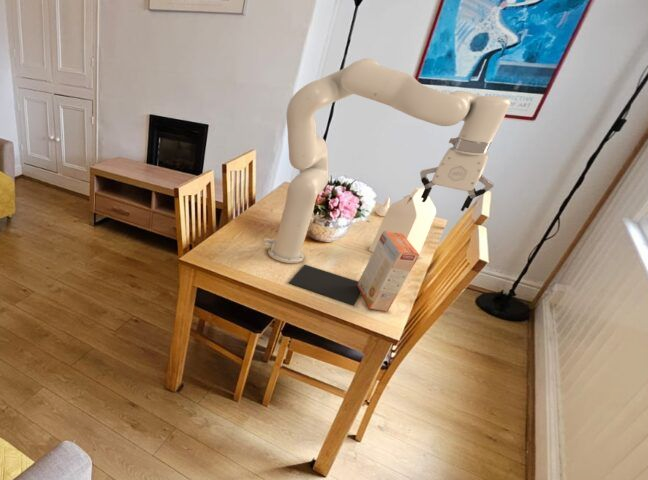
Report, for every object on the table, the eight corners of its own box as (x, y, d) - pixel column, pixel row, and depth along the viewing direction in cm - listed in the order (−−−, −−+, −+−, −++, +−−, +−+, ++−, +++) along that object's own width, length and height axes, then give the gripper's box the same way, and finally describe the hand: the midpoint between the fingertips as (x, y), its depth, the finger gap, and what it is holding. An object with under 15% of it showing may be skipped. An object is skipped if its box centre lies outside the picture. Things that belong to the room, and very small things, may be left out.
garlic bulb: (390, 219, 197) (397, 201, 192) (374, 215, 199) (381, 198, 195) (391, 214, 201) (398, 197, 196) (375, 211, 204) (382, 194, 199)
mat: (288, 283, 153) (289, 282, 152) (304, 265, 163) (304, 264, 163) (353, 305, 142) (353, 304, 142) (365, 285, 152) (366, 284, 152)
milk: (396, 263, 164) (426, 196, 149) (368, 250, 173) (395, 185, 158) (418, 257, 168) (450, 191, 153) (390, 244, 177) (418, 180, 162)
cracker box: (389, 312, 139) (421, 254, 127) (368, 309, 140) (398, 251, 127) (375, 287, 150) (403, 232, 138) (356, 285, 151) (382, 229, 139)
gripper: (431, 142, 124) (406, 201, 134) (509, 155, 115) (476, 217, 124) (437, 137, 129) (412, 194, 138) (512, 149, 119) (480, 209, 129)
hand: (443, 205), depth 131 cm, fingers open, 9 cm apart
